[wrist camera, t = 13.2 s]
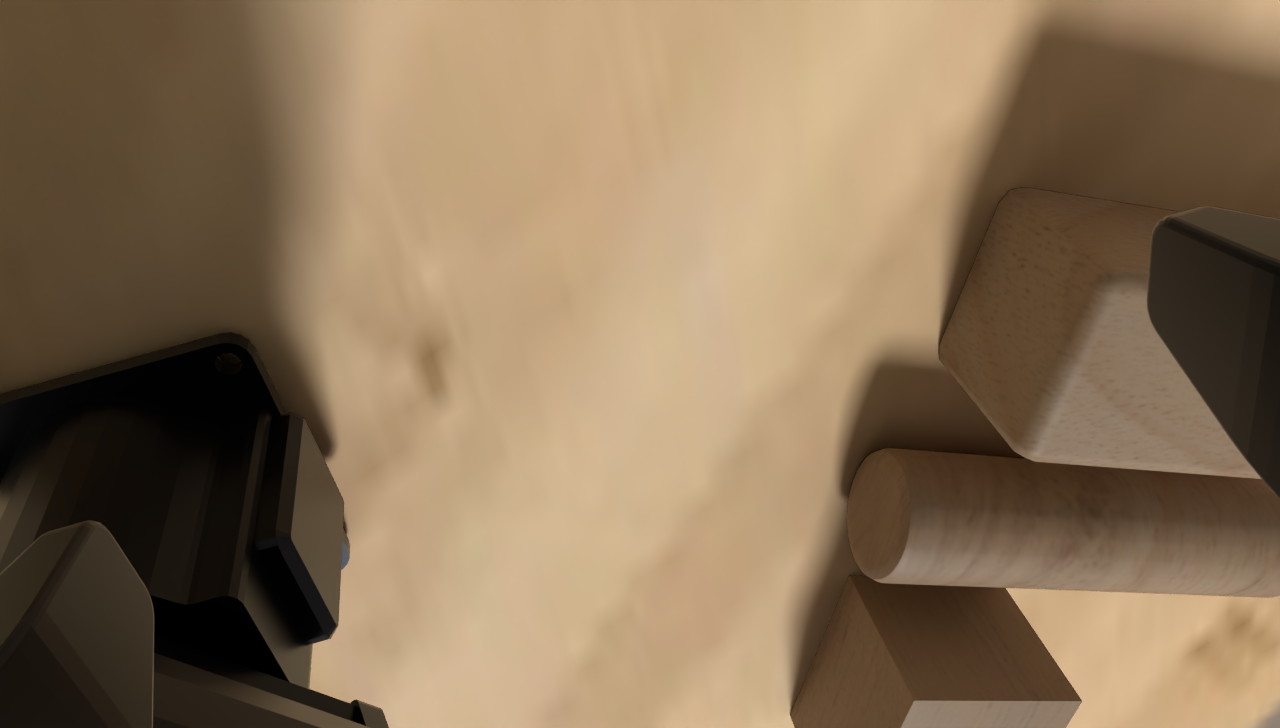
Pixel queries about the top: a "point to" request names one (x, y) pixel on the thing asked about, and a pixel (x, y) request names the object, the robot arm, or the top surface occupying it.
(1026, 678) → the wooden block set
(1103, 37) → the top surface
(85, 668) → the robot arm
